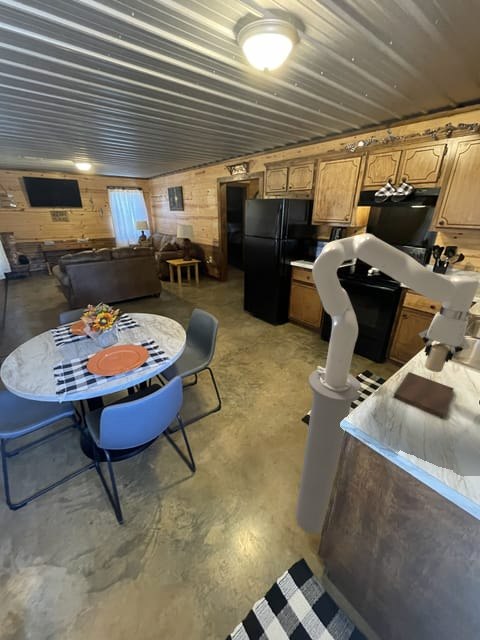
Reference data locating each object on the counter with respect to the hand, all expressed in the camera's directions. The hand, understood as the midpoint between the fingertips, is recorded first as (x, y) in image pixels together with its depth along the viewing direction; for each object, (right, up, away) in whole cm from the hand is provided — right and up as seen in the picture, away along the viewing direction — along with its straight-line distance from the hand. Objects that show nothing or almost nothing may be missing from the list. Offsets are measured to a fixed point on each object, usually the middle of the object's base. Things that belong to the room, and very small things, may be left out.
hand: (436, 357), depth 97 cm
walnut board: (0, -16, +7) cm, 17 cm away
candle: (0, -5, +2) cm, 5 cm away
